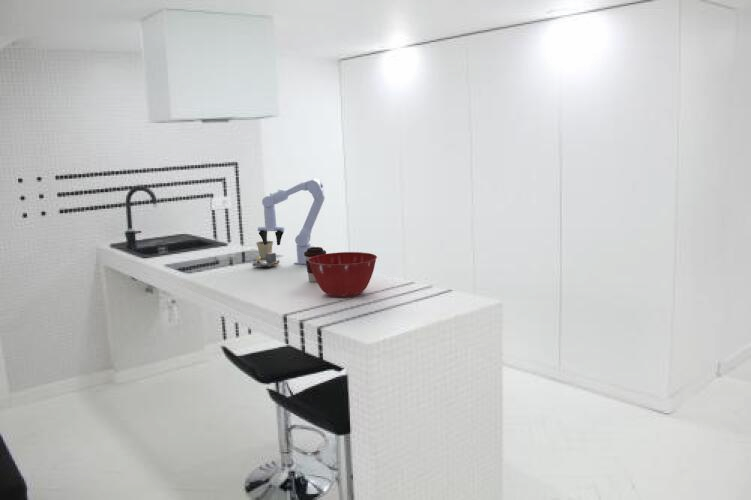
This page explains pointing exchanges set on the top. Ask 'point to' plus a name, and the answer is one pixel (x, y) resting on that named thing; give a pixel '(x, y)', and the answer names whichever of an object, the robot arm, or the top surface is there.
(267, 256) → the cube with orange inset
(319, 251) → the coffee cup
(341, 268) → the mixing bowl
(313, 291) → the top surface
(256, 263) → the sprocket
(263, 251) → the flower pot
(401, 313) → the top surface
